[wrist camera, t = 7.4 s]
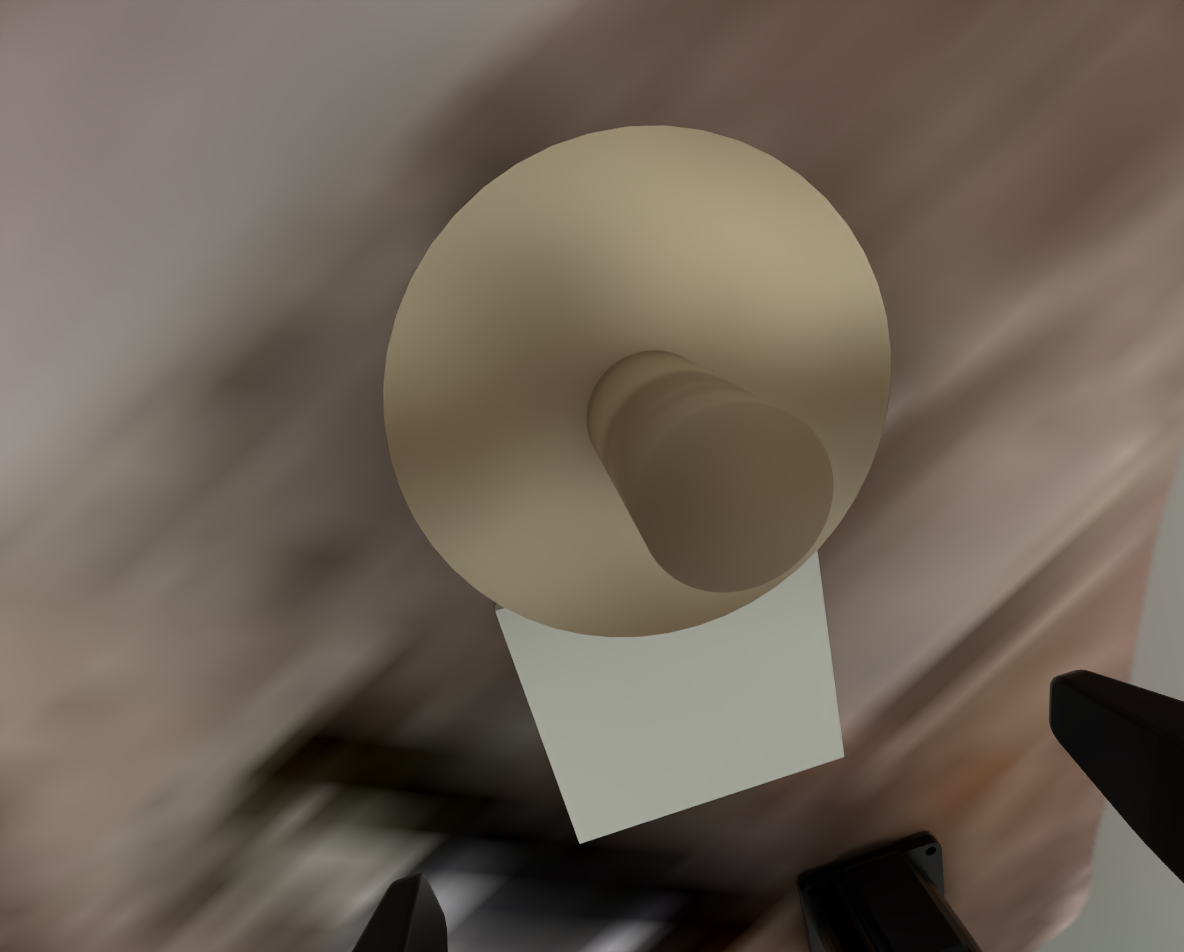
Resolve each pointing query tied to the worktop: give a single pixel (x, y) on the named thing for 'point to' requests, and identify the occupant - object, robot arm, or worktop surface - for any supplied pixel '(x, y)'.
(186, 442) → the worktop surface
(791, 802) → the worktop surface
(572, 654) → the mat
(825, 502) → the lid
